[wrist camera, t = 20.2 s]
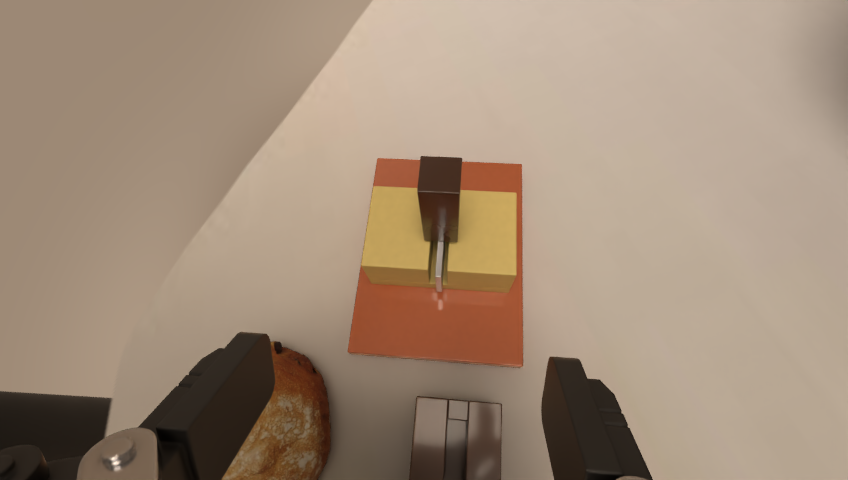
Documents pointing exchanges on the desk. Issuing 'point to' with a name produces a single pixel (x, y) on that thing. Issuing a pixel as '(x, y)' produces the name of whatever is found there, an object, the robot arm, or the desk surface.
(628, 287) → the desk surface
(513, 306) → the butter dish
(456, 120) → the desk surface
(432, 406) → the brown slotted slab
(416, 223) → the butter
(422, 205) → the knife
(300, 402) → the bread roll
